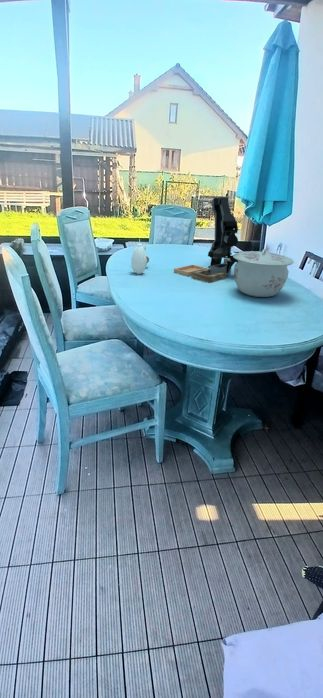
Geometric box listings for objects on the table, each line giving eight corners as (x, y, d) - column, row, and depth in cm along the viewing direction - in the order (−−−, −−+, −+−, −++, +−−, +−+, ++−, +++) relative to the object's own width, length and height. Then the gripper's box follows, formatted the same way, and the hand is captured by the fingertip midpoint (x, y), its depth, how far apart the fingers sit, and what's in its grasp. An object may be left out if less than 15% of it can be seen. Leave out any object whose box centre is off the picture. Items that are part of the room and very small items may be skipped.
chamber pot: (244, 303, 165) (251, 255, 157) (219, 285, 189) (224, 243, 180) (299, 301, 173) (309, 255, 164) (269, 284, 197) (276, 243, 188)
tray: (192, 268, 220) (192, 264, 219) (206, 271, 214) (206, 268, 213) (173, 272, 208) (174, 268, 208) (188, 276, 203) (188, 272, 202)
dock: (207, 273, 210) (208, 268, 209) (225, 278, 203) (225, 272, 202) (191, 278, 200) (191, 272, 198) (209, 282, 193) (209, 277, 192)
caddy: (222, 272, 215) (224, 257, 211) (230, 274, 211) (232, 259, 208) (209, 275, 207) (211, 260, 203) (217, 277, 203) (219, 262, 200)
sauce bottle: (139, 276, 198) (140, 240, 190) (128, 273, 202) (128, 238, 194) (149, 273, 203) (150, 239, 196) (137, 271, 207) (138, 237, 200)
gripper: (203, 241, 203) (200, 270, 210) (233, 247, 192) (229, 277, 199) (215, 239, 211) (212, 267, 218) (244, 245, 200) (240, 274, 207)
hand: (222, 271), depth 210 cm, fingers closed on caddy, 5 cm apart
